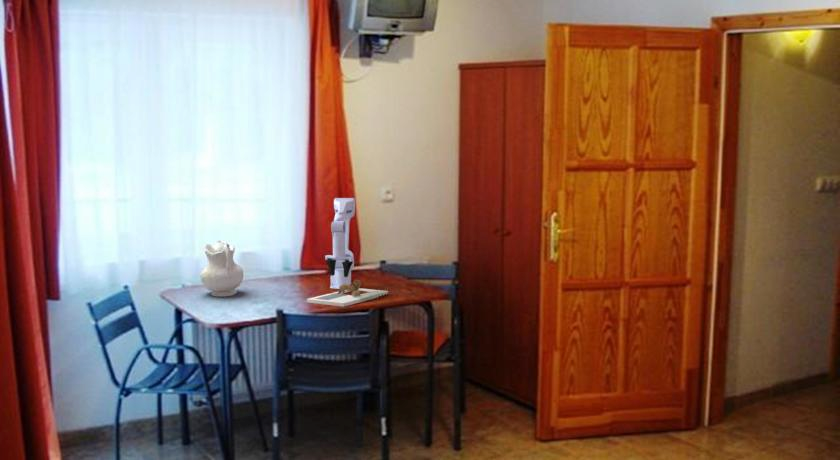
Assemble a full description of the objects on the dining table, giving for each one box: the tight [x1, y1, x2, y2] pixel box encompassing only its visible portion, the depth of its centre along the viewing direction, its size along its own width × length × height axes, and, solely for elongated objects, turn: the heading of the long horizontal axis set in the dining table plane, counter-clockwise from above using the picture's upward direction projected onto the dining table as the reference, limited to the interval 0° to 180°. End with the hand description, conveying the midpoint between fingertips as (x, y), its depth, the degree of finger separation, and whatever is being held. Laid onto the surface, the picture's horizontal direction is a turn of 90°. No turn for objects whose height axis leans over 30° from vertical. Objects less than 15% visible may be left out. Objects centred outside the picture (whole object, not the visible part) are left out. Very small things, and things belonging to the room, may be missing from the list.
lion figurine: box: [337, 279, 362, 295], centre depth 370 cm, size 12×4×7 cm, turn 118°
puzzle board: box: [306, 287, 388, 308], centre depth 364 cm, size 20×36×2 cm, turn 149°
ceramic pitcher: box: [200, 240, 244, 297], centre depth 370 cm, size 22×20×25 cm
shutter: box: [353, 289, 389, 299], centre depth 363 cm, size 6×20×3 cm, turn 149°
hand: (339, 276), depth 368 cm, fingers open, 7 cm apart
